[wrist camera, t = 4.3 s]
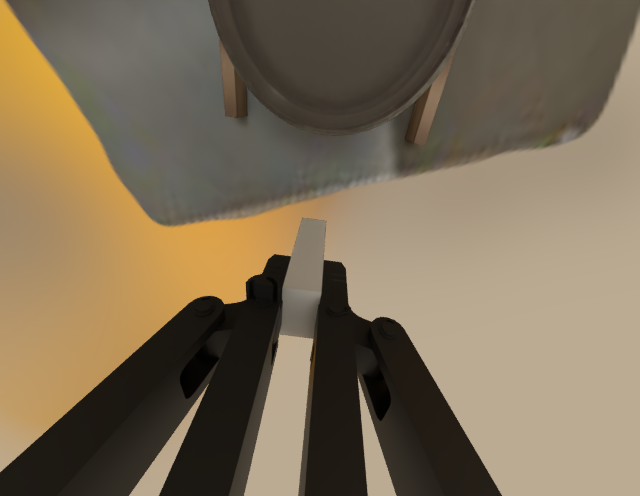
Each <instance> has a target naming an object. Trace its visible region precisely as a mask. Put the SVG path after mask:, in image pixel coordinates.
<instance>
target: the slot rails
mask: <svg viewBox="0 0 640 496" xmlns="http://www.w3.org/2000/svg"><path fill="white" fill-rule="evenodd" d="M456 49H457V48H456ZM456 49H455V51H454V53H453V54H452V56H451V58H450V59H449V61H448V63H447V64H446V66H445V67H444V68H443V70H442V71H441V73H440V74H439V76H438V77H437V78H436V80H435V81H434V82H433V83H432V84H431V85H430V87H429V88H428V89H427V90H426V91H425V92H424V93H423V94H422V95H421V97H419V98H418V99H417V100H416V103H415V107H414V110H413V114H412V117H411V121H410V124H409V128H408V131H407V135H406V138H405V139H407V140H409V141H411V142H413V143H418V144H425V142H426V139H427V136H428V133H429V130H430V127H431V124H432V121H433V118H434V115H435V112H436V109H437V106H438V103H439V100H440V97H441V94H442V91H443V88H444V85H445V82H446V79H447V76H448V73H449V70H450V67H451V64H452V61H453V58H454V55H455V52H456ZM220 51H221V64H222V77H223V90H224V103H225V116H229V117H236V118H237V117H243V116H247V95H246V84H245V83H244V82H243V80H242V79H241V78H240V76H239V75H238V73H237V71H236V70H235V68H234V66H233V65H232V63H231V61H230V59H229V57H228V55H227V53H226V51H225V49H224V47H223V45H222V42H221V40H220Z"/></svg>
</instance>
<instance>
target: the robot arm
mask: <svg viewBox="0 0 640 496" xmlns="http://www.w3.org/2000/svg"><path fill="white" fill-rule="evenodd" d="M325 230H326V221H324V220H316V219H308V218H302V220H301V224H300V227H299V231H298V234H297V238H296V241H295V245H294V249H293V253H292V256H284V255H276V254H274V255H273V256H272V257H271V258H269V259H268V262H267V264H266V267H265V268H264V271H263V273H262V274H260V275H255V276H253V277H251V278H250V279H248V281H247V282H246V297H247V299H246V300H244V301H242V302H238V303H231V304H224V303H223V302H222V300H221V299H219V298H217V297H214V296H205V297H200V298H197V299H195V300H193V301H192V302H190V303H189V304H188V305H187V306H186V307H185V308H183V309H182V310H181V311H180V312H179V313H178V314H177V315H176V316H174V317H173V318H172V319H171V320H170V321H169V322H168V323H167V324H165V325H164V326H163V327H162V328H161V329H160V330H159V331H158V332H157V333H156V334H154V335H153V336H152V337H151V338H150V339H149V340H148V341H147V342H145V343H144V344H143V345H142V346H141V347H140V348H139V349H138V350H137V351H135V352H134V353H133V354H132V355H131V356H130V357H129V358H128V359H126V360H125V361H124V362H123V363H122V364H121V365H120V366H119V367H117V368H116V369H115V370H114V371H113V372H112V373H111V374H110V375H109V376H108V377H106V378H105V379H104V380H103V381H102V382H101V383H100V384H99V385H98V386H96V387H95V388H94V389H93V390H92V391H91V392H90V393H88V394H87V395H86V396H85V397H84V398H83V399H82V400H81V401H79V402H78V403H77V404H76V405H75V406H74V407H73V408H72V409H71V410H70V411H68V412H67V413H66V414H65V415H64V416H63V417H62V418H61V419H59V420H58V421H57V422H56V423H55V424H54V425H53V426H52V427H51V428H49V429H48V430H47V431H46V432H45V433H44V434H43V435H42V436H41V437H39V438H38V439H37V440H36V441H35V442H34V443H33V444H31V445H30V447H28V448H27V449H26V450H25V451H24V452H23V453H22V454H20V455H19V456H18V457H17V458H16V459H15V460H14V461H12V463H10V464H9V465H8V466H7V467H6V468H5V469H4V470H3V471H1V472H0V496H129V495H130V493H131V492H132V490H133V489H134V488H135V486H136V485H137V483H138V482H139V480H140V479H141V478H142V476H143V475H144V474H145V472H146V471H147V469H148V468H149V467H150V465H151V464H152V462H153V461H154V460H155V458H156V456H157V455H158V454H159V452H160V451H161V450H162V448H163V447H164V445H165V444H166V442H167V441H168V440H169V438H170V437H171V436H172V434H173V433H174V431H175V430H176V428H177V427H178V426H179V424H180V423H181V422H182V420H183V419H184V417H185V416H186V415H187V413H188V411H189V410H190V409H191V407H192V406H193V405H194V403H195V402H196V400H197V399H198V398H199V396H200V395H201V393H202V392H203V391H204V389H205V388H206V386H207V385H208V384H209V385H208V387H207V389H206V391H205V394H204V396H203V398H202V401H201V403H200V405H199V407H198V409H197V411H196V414H195V416H194V418H193V420H192V423H191V425H190V427H189V429H188V432H187V434H186V436H185V439H184V441H183V443H182V445H181V448H180V450H179V452H178V454H177V456H176V459H175V461H174V463H173V465H172V468H171V470H170V472H169V474H168V477H167V479H166V481H165V483H164V486H163V488H162V490H161V493H160V495H159V496H244V492H245V488H246V484H247V479H248V475H249V471H250V466H251V462H252V457H253V453H254V449H255V444H256V440H257V436H258V431H259V427H260V423H261V418H262V413H263V409H264V405H265V401H266V396H267V392H268V387H269V383H270V379H271V374H272V370H273V366H274V361H275V357H276V352H277V348H278V338H279V333H280V334H281V335H289V336H297V337H305V338H313V346H312V352H311V358H310V361H311V365H310V375H309V388H308V397H307V398H308V399H307V408H306V419H305V429H304V440H303V451H302V462H301V473H300V485H299V494H298V496H368V494H367V483H366V470H365V459H364V447H363V435H362V423H361V411H360V400H359V388H358V378H359V381H360V384H361V387H362V390H363V393H364V397H365V400H366V403H367V406H368V409H369V412H370V415H371V418H372V421H373V424H374V427H375V431H376V434H377V437H378V440H379V443H380V446H381V449H382V452H383V455H384V458H385V461H386V465H387V467H388V471H389V474H390V477H391V480H392V483H393V486H394V489H395V492H396V495H397V496H502V495H501V493H500V491H499V490H498V488H497V486H496V485H495V483H494V481H493V480H492V478H491V476H490V474H489V473H488V471H487V469H486V468H485V466H484V464H483V463H482V461H481V459H480V457H479V456H478V454H477V452H476V451H475V449H474V447H473V446H472V444H471V442H470V440H469V439H468V437H467V435H466V434H465V432H464V430H463V429H462V427H461V426H460V423H459V422H458V420H457V418H456V417H455V415H454V413H453V411H452V410H451V408H450V406H449V405H448V403H447V401H446V400H445V398H444V396H443V394H442V393H441V391H440V389H439V388H438V386H437V384H436V382H435V381H434V379H433V377H432V376H431V374H430V372H429V371H428V369H427V367H426V366H425V364H424V362H423V360H422V359H421V357H420V355H419V354H418V352H417V350H416V348H415V347H414V345H413V343H412V342H411V340H410V338H409V337H408V335H407V333H406V331H405V330H404V328H403V327H402V326H401V325H400V324H399V323H398V322H396V321H395V320H392V319H390V318H387V317H380V318H376V319H375V320H373V321H372V322H371V321H368V320H365V319H363V318H361V317H359V316H357V315H356V314H355V313H353V311H352V310H351V307H350V306H349V304H348V293H347V282H346V269H345V267H344V266H343V264H342V263H341V262H333V261H327V260H324V246H325V245H324V244H325ZM357 375H358V376H357Z"/></svg>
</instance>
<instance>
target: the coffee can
mask: <svg viewBox="0 0 640 496" xmlns="http://www.w3.org/2000/svg"><path fill="white" fill-rule="evenodd" d="M208 1H209V5H210V10H211V14H212V17H213V20H214V23H215V26H216V29H217V32H218V35H219V38H220V40H221V42H222V45H223V47H224V49H225V51H226V53H227V55H228V57H229V59H230V61H231V63H232V65H233V66H234V68H235V70H236V71H237V73H238V75H239V76H240V78H241V79H242V80H243V82H244V83H245V84H246V86H247V87H248V88H249V89H250V91H251V92H252V93H253V94H254V96H255V97H256V98H257V99H258V100H259V101H260V102H261V103H262V104H263V105H264V106H265V107H267V108H268V109H269V110H270V111H271V112H273V113H274V114H275V115H277V116H278V117H279V118H281V119H283V120H284V121H286V122H288V123H290V124H292V125H294V126H296V127H298V128H301V129H303V130H306V131H310V132H313V133H317V134H323V135H348V134H354V133H359V132H363V131H366V130H370V129H372V128H375V127H377V126H379V125H382V124H383V123H385V122H387V121H389V120H391V119H393V118H394V117H396V116H397V115H398V114H400V113H401V112H403V111H404V110H405V109H407V108H408V107H410V106H411V105H412V104H413V103H414V102H415V101H416V100H417V99H418V98H419V97H421V95H422V94H423V93H424V92H425V91H426V90H427V89H428V88H429V87H430V85H431V84H432V83H433V82H434V81H435V80H436V78H437V77H438V76H439V74H440V73H441V71H442V70H443V68H444V67H445V66H446V64H447V63H448V61H449V59H450V58H451V56H452V54H453V53H454V51H455V49H456V48H457V46H458V44H459V42H460V40H461V38H462V36H463V34H464V31H465V29H466V27H467V25H468V22H469V20H470V17H471V15H472V12H473V9H474V7H475V4H476V1H477V0H208Z"/></svg>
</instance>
